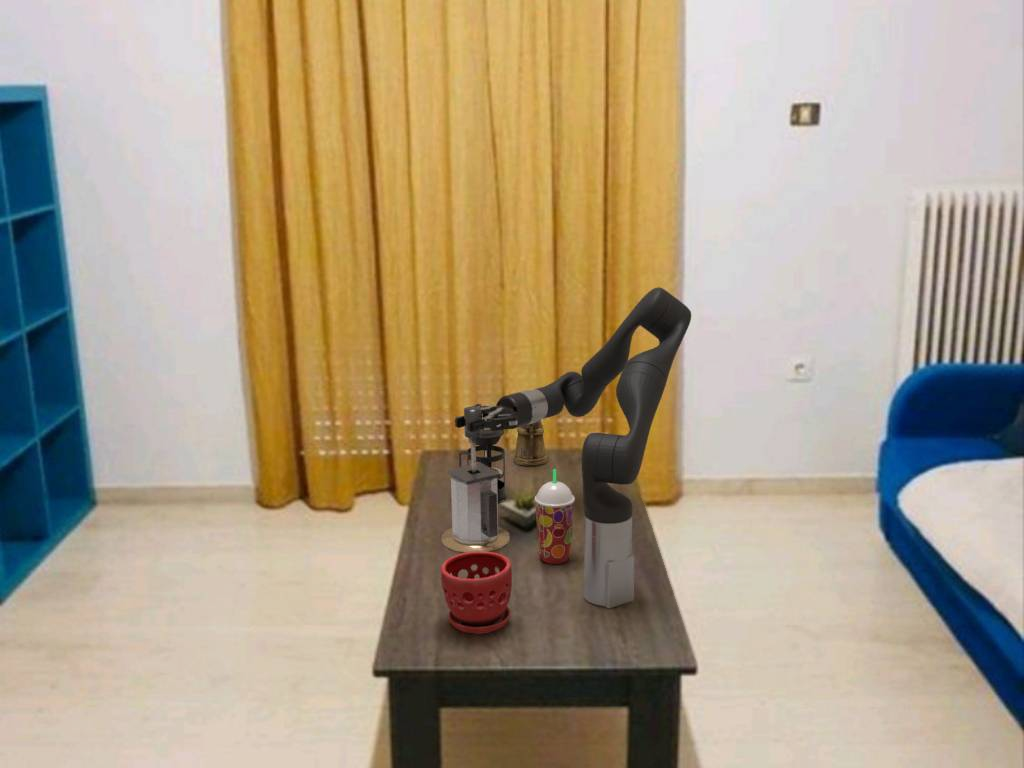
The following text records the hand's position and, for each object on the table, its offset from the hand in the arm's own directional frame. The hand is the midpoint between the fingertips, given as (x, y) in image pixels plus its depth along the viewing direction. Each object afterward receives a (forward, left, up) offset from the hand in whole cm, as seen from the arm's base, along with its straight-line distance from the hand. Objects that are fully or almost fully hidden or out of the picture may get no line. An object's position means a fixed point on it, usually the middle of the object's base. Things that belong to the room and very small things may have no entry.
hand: (462, 425), depth 234 cm
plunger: (0, -3, -20) cm, 20 cm away
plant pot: (-33, +16, -27) cm, 45 cm away
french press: (+20, -17, -27) cm, 38 cm away
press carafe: (0, -3, -27) cm, 27 cm away
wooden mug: (+34, -39, -27) cm, 59 cm away
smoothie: (-18, -12, -27) cm, 34 cm away
